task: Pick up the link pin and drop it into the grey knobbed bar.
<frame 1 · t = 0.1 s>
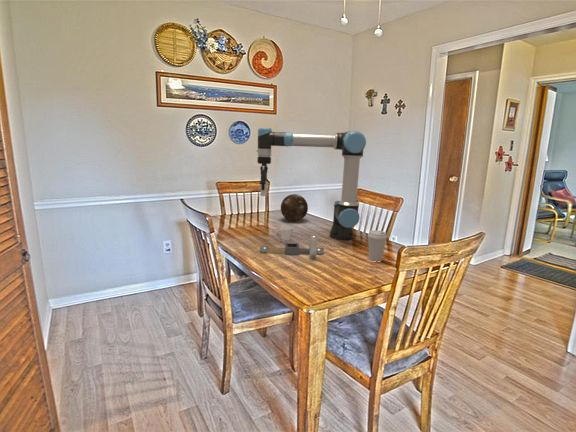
hand: (263, 194, 192), 28 cm above the table, fingers open, 13 cm apart
cup: (283, 241, 199), on the table
coffee cup: (375, 260, 172), on the table
grey knobbed bar: (291, 252, 179), on the table
decorative sphere: (293, 221, 249), on the table
link pin: (312, 258, 172), on the table
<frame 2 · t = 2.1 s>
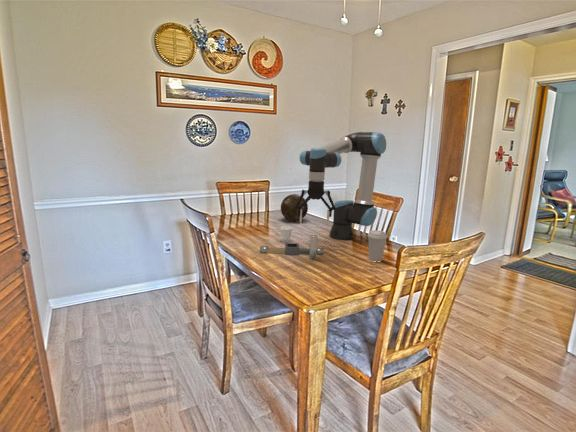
hand: (314, 222, 168), 19 cm above the table, fingers open, 13 cm apart
nothing on the table moved.
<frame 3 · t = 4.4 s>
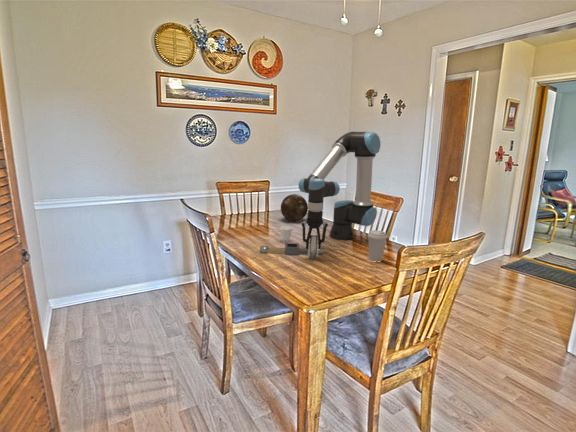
hand: (312, 254, 171), 2 cm above the table, fingers closed on link pin, 4 cm apart
link pin: (312, 258, 172), on the table, touching gripper
everything else where it was.
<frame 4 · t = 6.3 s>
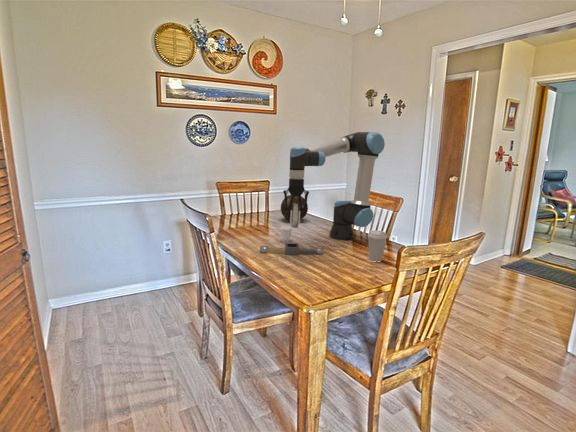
hand: (294, 222, 175), 17 cm above the table, fingers closed on link pin, 4 cm apart
link pin: (294, 226, 175), point 14 cm above the table, touching gripper
everything else where it was.
when the fingers open (5 cm above the table, at t = 8.2 s): link pin drops 3 cm, resting in grey knobbed bar.
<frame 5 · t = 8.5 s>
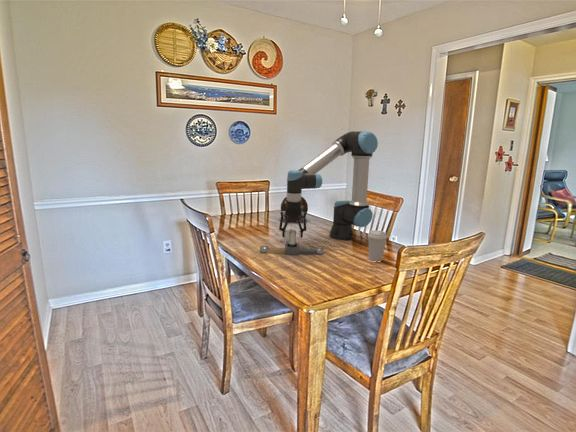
hand: (292, 243, 178), 5 cm above the table, fingers open, 7 cm apart
link pin: (291, 252, 179), resting in grey knobbed bar
everything else where it was.
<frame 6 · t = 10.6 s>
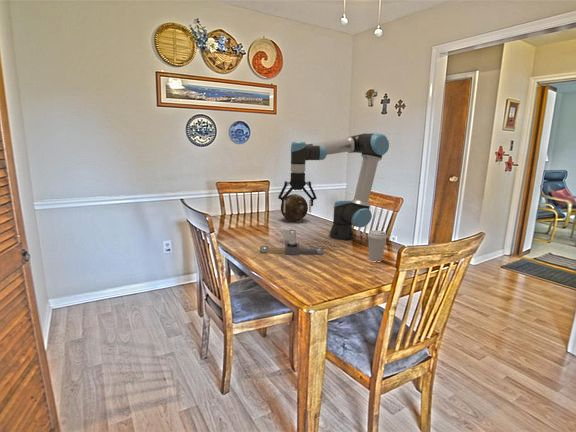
hand: (297, 212, 178), 21 cm above the table, fingers open, 13 cm apart
nothing on the table moved.
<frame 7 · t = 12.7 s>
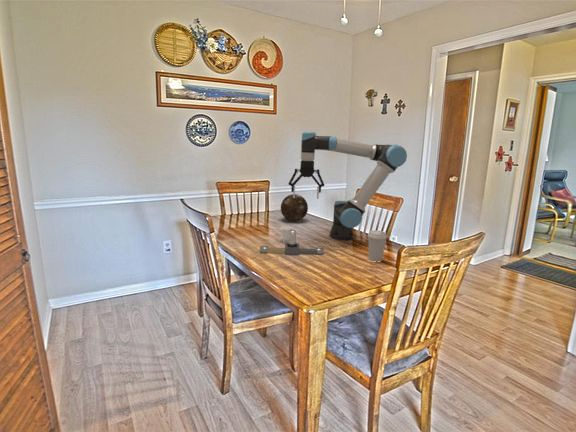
hand: (305, 198, 191), 27 cm above the table, fingers open, 13 cm apart
nothing on the table moved.
at the end: link pin 0.0 cm off-centre on the grey knobbed bar, point 0.0 cm above the grey knobbed bar's base; link pin tilted 0°; the gripper is holding nothing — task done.
